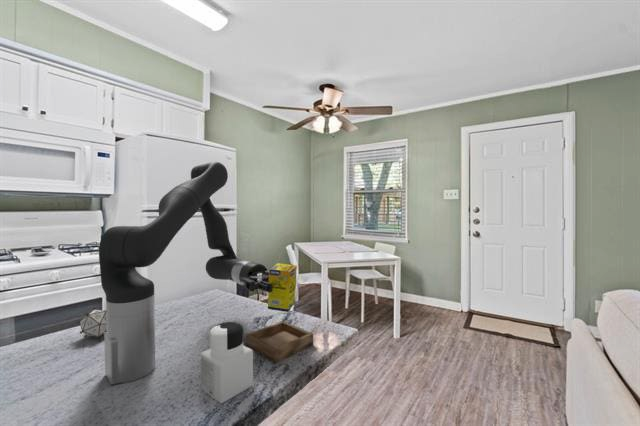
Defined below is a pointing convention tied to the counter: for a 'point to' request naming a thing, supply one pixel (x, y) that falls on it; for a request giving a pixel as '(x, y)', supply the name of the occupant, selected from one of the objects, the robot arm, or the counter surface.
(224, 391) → the container
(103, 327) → the game die
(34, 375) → the counter surface
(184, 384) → the counter surface
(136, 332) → the robot arm
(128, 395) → the counter surface
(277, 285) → the supplement box
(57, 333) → the counter surface
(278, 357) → the tray
